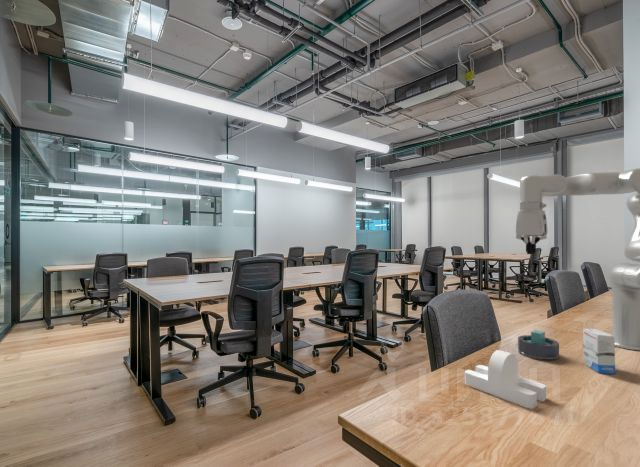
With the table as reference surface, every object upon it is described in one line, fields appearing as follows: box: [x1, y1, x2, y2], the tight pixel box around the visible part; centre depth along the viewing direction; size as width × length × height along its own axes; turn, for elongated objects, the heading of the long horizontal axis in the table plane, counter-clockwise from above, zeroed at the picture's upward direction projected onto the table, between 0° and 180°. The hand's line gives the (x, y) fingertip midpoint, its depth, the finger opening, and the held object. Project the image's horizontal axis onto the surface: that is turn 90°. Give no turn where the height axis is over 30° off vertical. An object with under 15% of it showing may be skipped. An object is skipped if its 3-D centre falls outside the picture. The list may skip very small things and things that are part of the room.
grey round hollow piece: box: [517, 334, 560, 362], centre depth 122 cm, size 12×12×5 cm
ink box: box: [582, 328, 616, 375], centre depth 109 cm, size 9×5×12 cm, turn 168°
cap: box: [527, 329, 549, 344], centre depth 122 cm, size 8×8×7 cm
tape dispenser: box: [464, 349, 547, 409], centre depth 94 cm, size 10×18×11 cm, turn 37°
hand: (530, 253), depth 135 cm, fingers closed
